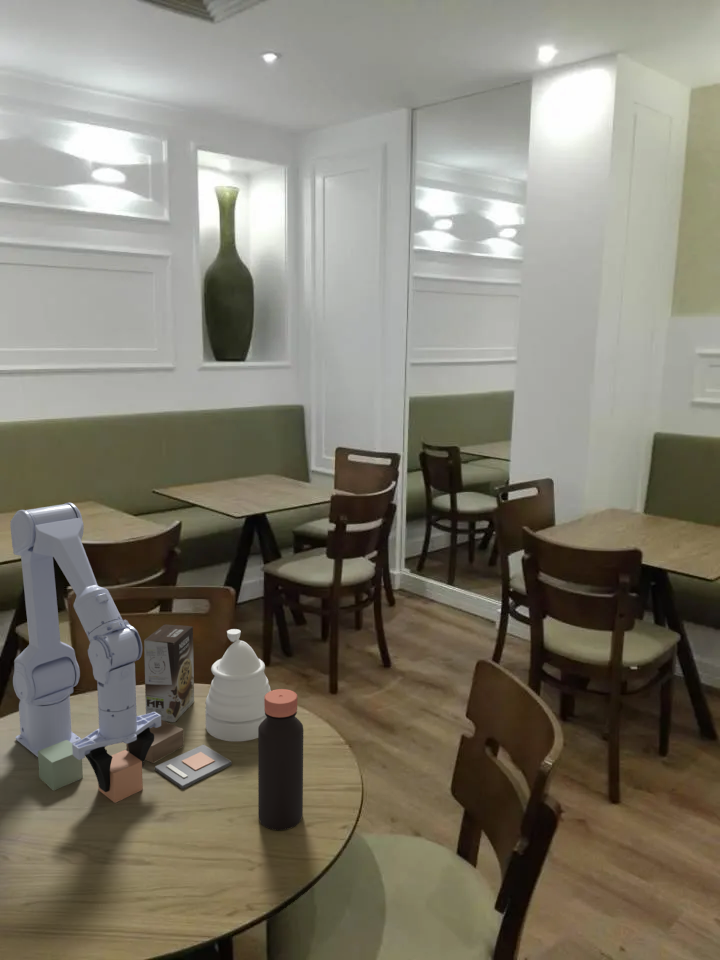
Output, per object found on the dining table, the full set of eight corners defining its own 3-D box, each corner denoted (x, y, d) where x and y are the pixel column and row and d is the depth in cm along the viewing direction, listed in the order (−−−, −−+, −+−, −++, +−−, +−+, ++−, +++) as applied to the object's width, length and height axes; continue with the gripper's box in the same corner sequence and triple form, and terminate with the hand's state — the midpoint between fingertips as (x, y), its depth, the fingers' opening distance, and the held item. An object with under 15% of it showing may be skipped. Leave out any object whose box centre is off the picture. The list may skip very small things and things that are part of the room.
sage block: (39, 778, 124) (37, 751, 123) (68, 766, 127) (66, 739, 126) (53, 791, 120) (52, 762, 119) (82, 778, 124) (81, 750, 123)
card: (154, 769, 127) (154, 765, 127) (203, 747, 134) (203, 743, 134) (182, 789, 121) (182, 784, 121) (231, 764, 129) (231, 760, 129)
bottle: (309, 809, 117) (310, 690, 113) (291, 836, 110) (292, 710, 107) (270, 800, 119) (270, 682, 115) (250, 825, 113) (249, 702, 109)
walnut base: (126, 751, 133) (125, 733, 132) (157, 735, 138) (157, 717, 138) (152, 764, 129) (152, 746, 128) (183, 747, 134) (183, 729, 134)
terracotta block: (98, 789, 121) (97, 761, 120) (126, 777, 124) (125, 749, 123) (114, 802, 117) (113, 773, 117) (142, 789, 121) (141, 761, 120)
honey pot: (193, 721, 143) (191, 632, 140) (249, 701, 152) (248, 617, 148) (229, 749, 134) (228, 654, 131) (287, 726, 142) (287, 636, 139)
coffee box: (176, 723, 142) (174, 643, 140) (144, 719, 144) (142, 639, 141) (195, 701, 151) (194, 625, 148) (166, 697, 152) (164, 622, 150)
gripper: (87, 728, 110) (90, 812, 113) (171, 696, 121) (173, 773, 123) (64, 712, 115) (68, 793, 117) (146, 682, 126) (149, 757, 128)
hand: (120, 781), depth 121 cm, fingers closed on terracotta block, 5 cm apart
